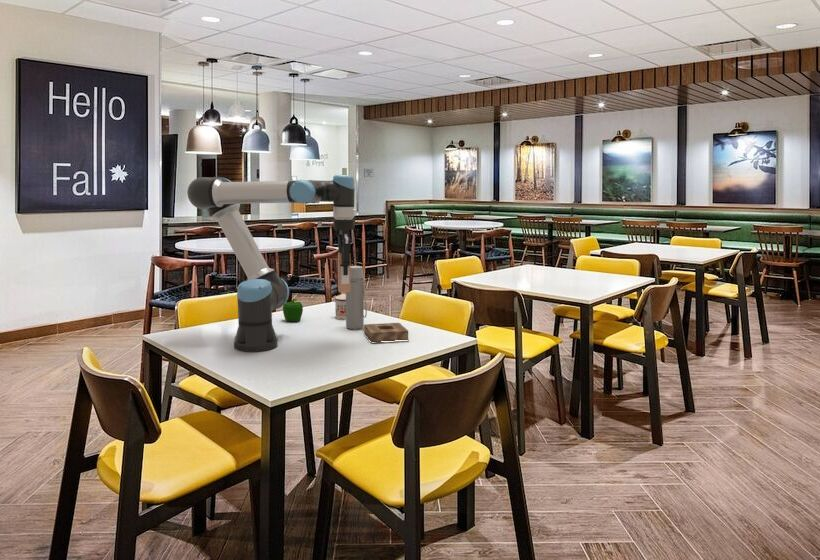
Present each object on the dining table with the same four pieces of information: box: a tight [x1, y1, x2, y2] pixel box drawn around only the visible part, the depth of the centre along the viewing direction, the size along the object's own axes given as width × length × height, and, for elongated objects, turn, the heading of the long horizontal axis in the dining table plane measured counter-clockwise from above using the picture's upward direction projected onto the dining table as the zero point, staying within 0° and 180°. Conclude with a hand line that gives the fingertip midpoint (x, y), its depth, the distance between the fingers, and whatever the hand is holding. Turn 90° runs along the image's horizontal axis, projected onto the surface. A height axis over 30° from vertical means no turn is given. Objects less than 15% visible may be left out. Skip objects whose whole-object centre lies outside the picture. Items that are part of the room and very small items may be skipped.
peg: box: [337, 252, 352, 293], centre depth 226 cm, size 4×4×14 cm
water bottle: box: [345, 265, 368, 330], centre depth 249 cm, size 9×8×25 cm
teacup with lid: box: [334, 292, 346, 320], centre depth 270 cm, size 12×9×12 cm
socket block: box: [363, 322, 409, 343], centre depth 236 cm, size 14×14×4 cm
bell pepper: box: [282, 298, 304, 323], centre depth 263 cm, size 8×8×10 cm
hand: (344, 282), depth 227 cm, fingers closed on peg, 4 cm apart
